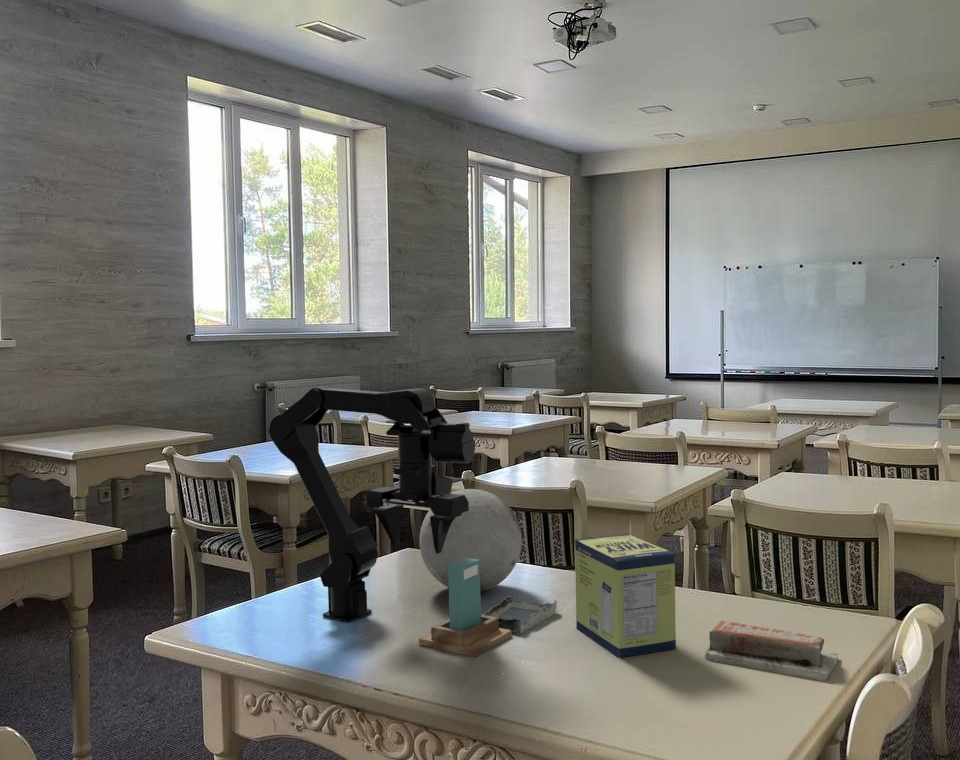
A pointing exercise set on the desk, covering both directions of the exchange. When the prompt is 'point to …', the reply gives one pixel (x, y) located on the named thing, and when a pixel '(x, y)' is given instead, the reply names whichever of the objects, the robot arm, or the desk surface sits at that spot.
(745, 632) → the packaged product
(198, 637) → the desk surface
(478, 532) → the moon model
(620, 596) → the protein box
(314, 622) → the desk surface
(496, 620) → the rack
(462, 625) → the teal labeled box
